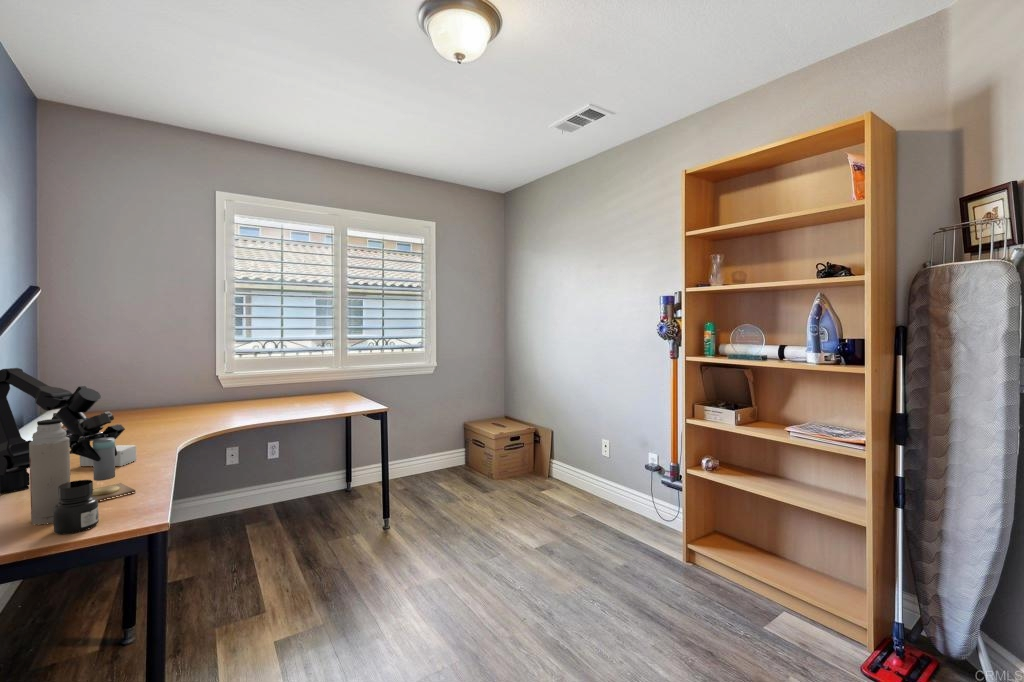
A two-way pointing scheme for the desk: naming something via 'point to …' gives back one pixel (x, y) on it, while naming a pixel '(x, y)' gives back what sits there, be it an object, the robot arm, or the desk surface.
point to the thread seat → (111, 491)
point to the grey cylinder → (104, 459)
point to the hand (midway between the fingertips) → (107, 457)
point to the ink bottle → (75, 507)
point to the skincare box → (122, 458)
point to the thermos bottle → (47, 468)
